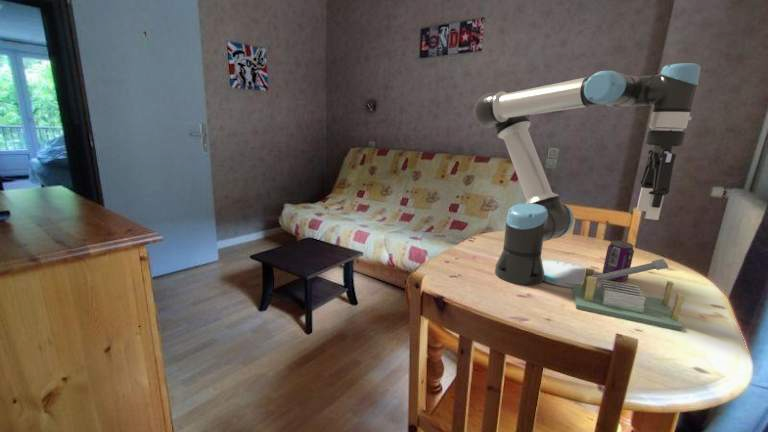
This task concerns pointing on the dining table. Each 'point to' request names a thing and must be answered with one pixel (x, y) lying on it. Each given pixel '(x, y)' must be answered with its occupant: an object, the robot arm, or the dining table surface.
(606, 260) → the beverage can
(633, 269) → the strap
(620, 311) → the socket board
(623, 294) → the block
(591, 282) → the posts
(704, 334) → the dining table surface
